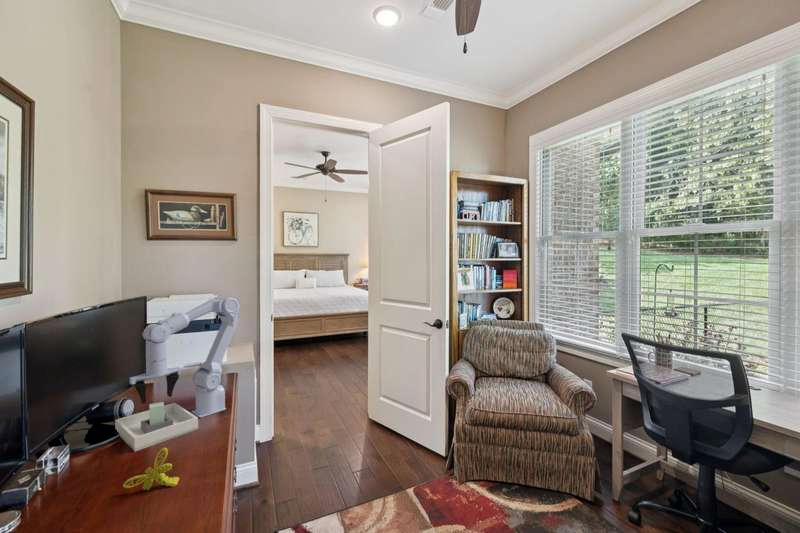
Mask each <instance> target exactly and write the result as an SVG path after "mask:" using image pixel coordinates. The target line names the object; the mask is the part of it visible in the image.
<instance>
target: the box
mask: <svg viewBox="0 0 800 533" xmlns="http://www.w3.org/2000/svg"><path fill="white" fill-rule="evenodd" d="M114 422H115V425H114V427H115V429H116V430H117V432H118V433H119V435H120V436H119V435H118V436H119V437H120V438H121V439H122V440H123V441H124V442H125V443H126V444H127V445H128V446H129V448H130V449H132V451H133V452H138V451H141V450H144V449H146V448H149V447H152V446H154V445H158V444H159V443H160V444H161V443H163V442H165V441H169V440H171V439H175V438H178V437H180V436H182V435H185V434H188V433H192V432H194V431H196V430H198V429H199V417H198V416H197V415H195V414H193V413H192V412H190V411H188V410H187V409H185V408H184V407H182V406H180V405H179V404H177V403H176V402H173V403H170V404H166V405H164V422H161V423H158V424H155V425H152V426H150V421H149V409H148V410H145V411H142V412H138V413H134V414H131V415H128V416H124V417H120V418H117V419H115V420H114ZM115 429H114V430H115Z"/></svg>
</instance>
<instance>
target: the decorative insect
mask: <svg viewBox="0 0 800 533" xmlns="http://www.w3.org/2000/svg"><path fill="white" fill-rule="evenodd" d="M168 453H169V450H168V448H167V447H163V448H161V449H160V450H159V451H158V452H157V454H156V456H155V459H154V464H153V468H152V467H151V466H149V467H147V469H145V471H144V472H145V474H141V475H140V474H139V475H135V476H132V477H130V478H128V479H126V481H125V482H124V483H123V485H122V486H123V487H122V488H125V489H131V488H134V487H137V486H139V485H141V484H142V483H143V486H142V488H143V491H145V490H147V491H149V490H150V489H151V488H152V485H153V482H154V481H155V480H156V483H158V484H159V483H160V485H161V486H164V485H165V486H166V487H177V485H178V483H179V480H180V477H178V476H173V477H170V476H168V475H166V472H170V470H172V467H173V464H172V463H164V462H165V460H166V459H167V457H168V455H169V454H168ZM163 455H164V456H163ZM158 459H160V460H158ZM159 463H160V464H159ZM163 463H164V464H163ZM134 480H136V482H135V483H134ZM127 483H128V484H127Z"/></svg>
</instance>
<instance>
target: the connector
mask: <svg viewBox="0 0 800 533" xmlns="http://www.w3.org/2000/svg"><path fill="white" fill-rule="evenodd" d="M164 403H165V402H164V401H158V402H155V403H154V402H153V403H149V404H148V407H149V408H148V410H149V421H150V426H152V425H155V424H158V423H161V422H164V406H165V404H164Z"/></svg>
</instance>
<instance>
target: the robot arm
mask: <svg viewBox="0 0 800 533" xmlns="http://www.w3.org/2000/svg"><path fill="white" fill-rule="evenodd" d="M240 308H241V305H240V304H239V301H238V300H237V298H235V297H224V296H221V295H219V296H215V297H214V298H211V299H208V300H207V301H205V302H203V303H202V304H200V305H198V306H196V307H194V308H192V309H190V310H189V311H187V312H185V313H183V312H173V313H171V316H170V317H167V318H165V319H159V320H158V321H157V323H150V324H148V325H147V326H146V327H145V328H144V330H143V332H141V336H142V338H143V339H144V340H145V372H144V373H141V374H138V375H135V376H131V377H129V384H130V385H133V386H134V388H135V389H136V390H137V393H138V395H139V399H140V403H141V404H143V405H144V404H146V403H147V397H146V396H147V395H146V392H147V384H146V382H147V381H150V380H156V379H159V378H164V377H165V378H166V396H167V397H170V398H171V397H173V391H174V388H175V386H176V383H177V382H178V380H179V377H180V375H179V374H182V368H181V367H180V366H177V367H170V368H167V340H168V338H169V337H170V336H172V335H173V334H175V333H177V332H179V331H181V330H183V329H184V328H187V327H188V326H189V324H190V322H191V321H194V320H196V319H198V318H200V317H203V316H205V315H207V314H209V313H215V314H217V316H218V317H219V319H220V320H221V325H220V326H219V329H218V331H217V334H216V337H215V338H214V340H213V344H212V345H211V348H210V350H209V352H208V354H207V358H206V359H205V361H204V362H203V363H201V364H200V365H199V367H198V369H197V370H196V371H195V372H194V373H193V375H192V377H191V379H192V380H191V381H192V383H193V385H195V409H193V410H191V413H192V414H193V415H195V416H196V417H198V418H201V419H202V418H205V417H208V416H210V415H214V414H216V413H221V412H222V411H225V410H227V408H226V391H225V389H224V386H223V385H221V382H222V373H223V369H222V367H221V364H222V361H223V360H224V357H225V355H226V352H227V350H228V348H229V345H230V342H231V340H232V338H233V335H234V333H235V331H236V329H237V326H238V323H239V310H240Z"/></svg>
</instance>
